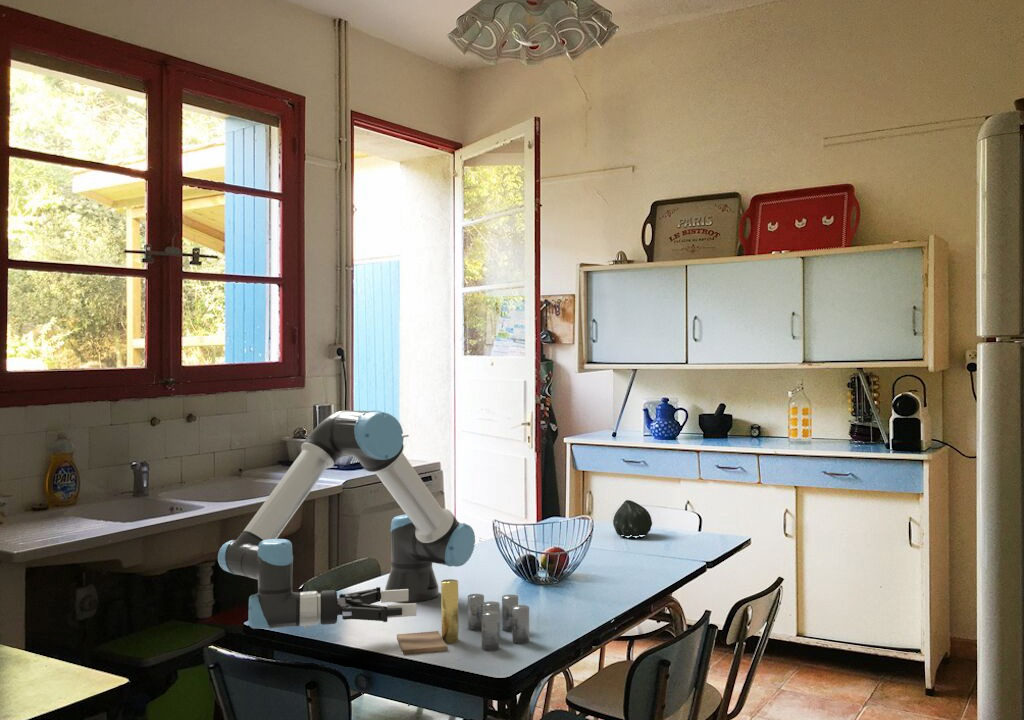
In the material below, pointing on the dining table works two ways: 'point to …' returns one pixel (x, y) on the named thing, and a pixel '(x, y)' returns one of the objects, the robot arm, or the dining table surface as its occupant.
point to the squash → (632, 520)
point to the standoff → (449, 610)
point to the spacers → (498, 620)
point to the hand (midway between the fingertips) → (412, 601)
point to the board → (421, 642)
